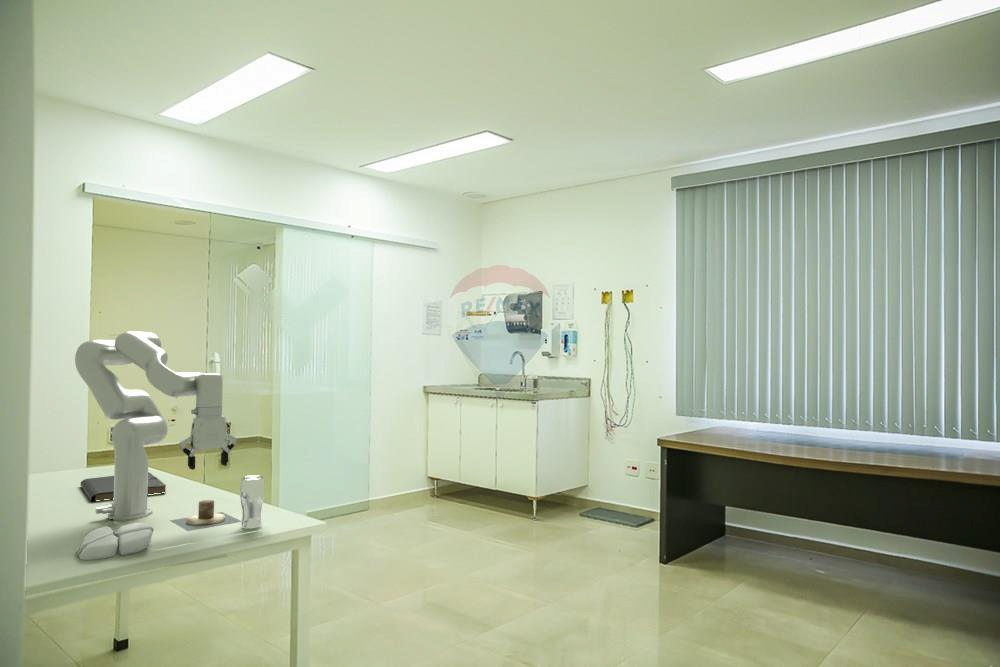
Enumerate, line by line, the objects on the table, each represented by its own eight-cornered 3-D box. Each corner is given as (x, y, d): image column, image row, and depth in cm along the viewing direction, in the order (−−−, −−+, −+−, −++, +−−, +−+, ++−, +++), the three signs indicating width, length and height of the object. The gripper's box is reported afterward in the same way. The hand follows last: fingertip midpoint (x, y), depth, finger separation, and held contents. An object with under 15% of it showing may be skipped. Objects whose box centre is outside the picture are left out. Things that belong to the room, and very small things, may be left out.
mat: (188, 532, 188) (188, 530, 188) (169, 521, 199) (169, 520, 199) (241, 522, 199) (241, 521, 199) (221, 513, 211) (221, 512, 211)
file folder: (166, 484, 239) (90, 493, 224) (166, 495, 239) (90, 505, 224) (149, 471, 265) (80, 478, 250) (149, 481, 265) (80, 489, 250)
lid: (193, 527, 192) (194, 507, 192) (181, 520, 199) (181, 501, 200) (230, 521, 199) (231, 501, 200) (217, 514, 207) (217, 496, 207)
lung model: (77, 563, 159) (73, 548, 179) (155, 553, 169) (143, 539, 189) (79, 536, 160) (74, 523, 180) (156, 527, 170) (144, 516, 190)
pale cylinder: (243, 524, 197) (244, 475, 198) (266, 524, 198) (267, 475, 199) (235, 530, 191) (237, 479, 191) (259, 530, 191) (261, 479, 192)
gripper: (184, 414, 192) (183, 472, 191) (241, 411, 204) (240, 465, 203) (175, 413, 197) (174, 469, 196) (231, 410, 209) (231, 462, 209)
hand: (208, 467), depth 200 cm, fingers open, 9 cm apart
